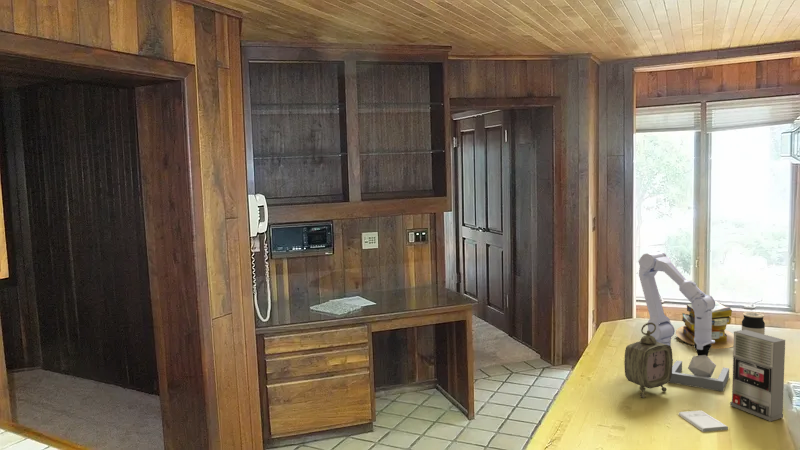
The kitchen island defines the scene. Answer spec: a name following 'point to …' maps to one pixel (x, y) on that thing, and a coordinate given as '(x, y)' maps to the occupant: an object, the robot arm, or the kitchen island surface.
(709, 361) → the die
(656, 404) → the kitchen island surface
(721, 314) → the stack of yellow books
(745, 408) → the cassette tape recorder
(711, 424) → the external hard drive
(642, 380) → the tabletop clock
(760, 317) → the travel mug
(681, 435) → the kitchen island surface
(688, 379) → the grey bracket
